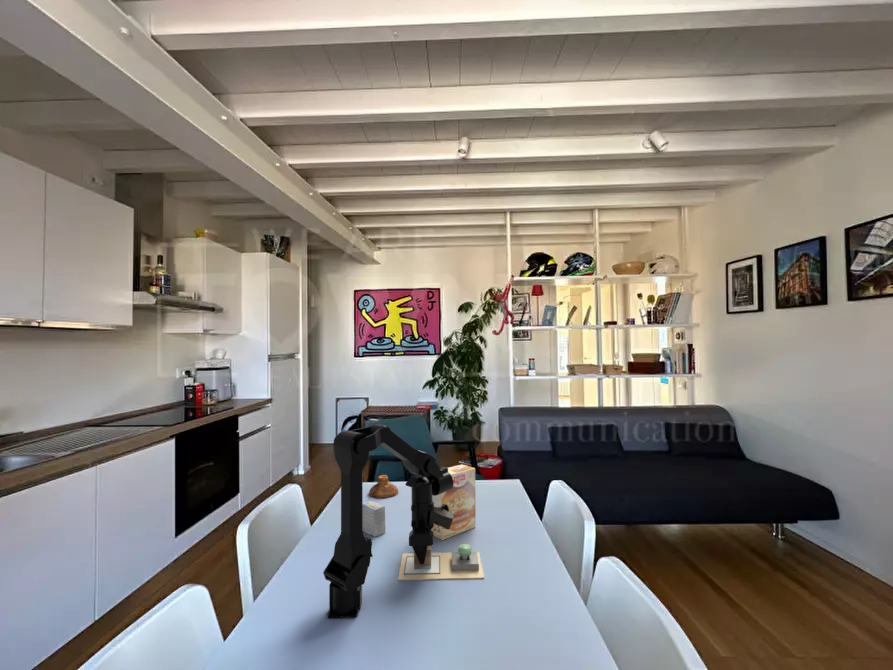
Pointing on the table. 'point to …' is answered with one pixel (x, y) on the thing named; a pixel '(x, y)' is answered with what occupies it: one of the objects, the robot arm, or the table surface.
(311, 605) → the table surface
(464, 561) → the button housing
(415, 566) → the block
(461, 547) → the button
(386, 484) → the bell
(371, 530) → the medicine box
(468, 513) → the coffeecake box
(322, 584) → the table surface
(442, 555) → the tan rectangular board
